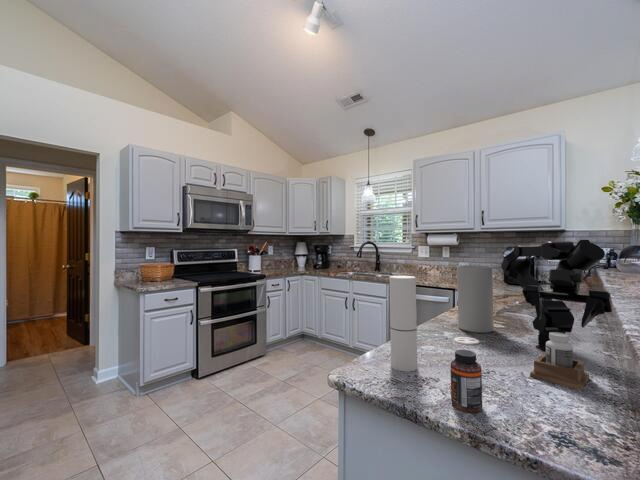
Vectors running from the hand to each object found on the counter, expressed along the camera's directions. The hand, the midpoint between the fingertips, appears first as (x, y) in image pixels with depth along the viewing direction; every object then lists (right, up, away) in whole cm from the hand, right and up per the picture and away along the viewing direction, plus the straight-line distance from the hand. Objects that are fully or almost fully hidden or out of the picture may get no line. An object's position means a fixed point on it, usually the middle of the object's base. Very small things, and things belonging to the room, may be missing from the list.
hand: (559, 323), depth 80 cm
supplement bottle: (-32, -13, -16) cm, 38 cm away
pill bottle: (-2, -12, -3) cm, 13 cm away
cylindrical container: (-39, -14, +5) cm, 42 cm away
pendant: (-10, -14, +26) cm, 32 cm away
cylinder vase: (-1, -14, +41) cm, 44 cm away
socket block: (-2, -13, -3) cm, 13 cm away
